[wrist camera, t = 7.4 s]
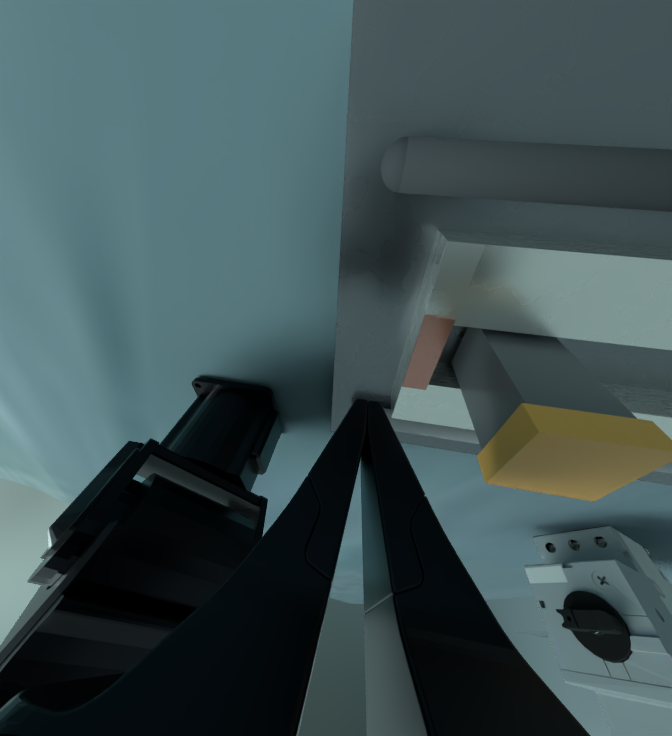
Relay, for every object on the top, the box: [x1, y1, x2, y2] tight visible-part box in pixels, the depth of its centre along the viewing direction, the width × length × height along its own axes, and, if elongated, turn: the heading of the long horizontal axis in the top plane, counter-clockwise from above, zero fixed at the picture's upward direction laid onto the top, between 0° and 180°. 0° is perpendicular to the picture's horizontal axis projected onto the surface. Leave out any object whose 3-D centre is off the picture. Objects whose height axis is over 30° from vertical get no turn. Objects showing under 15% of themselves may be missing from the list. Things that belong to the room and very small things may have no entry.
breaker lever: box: [451, 327, 672, 502], centre depth 9 cm, size 3×3×6 cm
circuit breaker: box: [524, 526, 672, 736], centre depth 21 cm, size 8×14×15 cm, turn 57°
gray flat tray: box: [381, 137, 672, 474], centre depth 11 cm, size 23×14×1 cm, turn 88°
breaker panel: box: [331, 0, 672, 485], centre depth 11 cm, size 26×20×3 cm
